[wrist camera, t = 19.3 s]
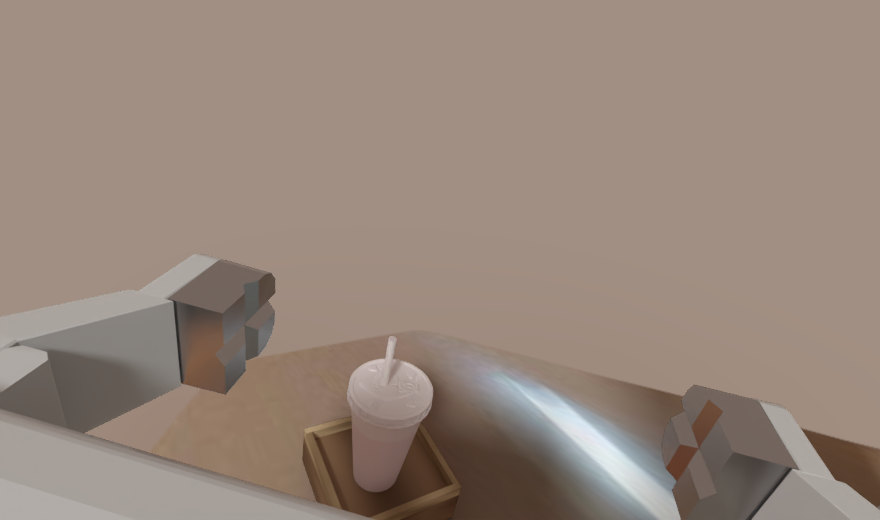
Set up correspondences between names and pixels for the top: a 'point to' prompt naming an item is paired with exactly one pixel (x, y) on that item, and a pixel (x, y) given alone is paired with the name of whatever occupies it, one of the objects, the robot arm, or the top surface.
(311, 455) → the wooden tray
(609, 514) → the top surface
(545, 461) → the top surface
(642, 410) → the top surface
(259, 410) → the top surface
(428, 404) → the smoothie
